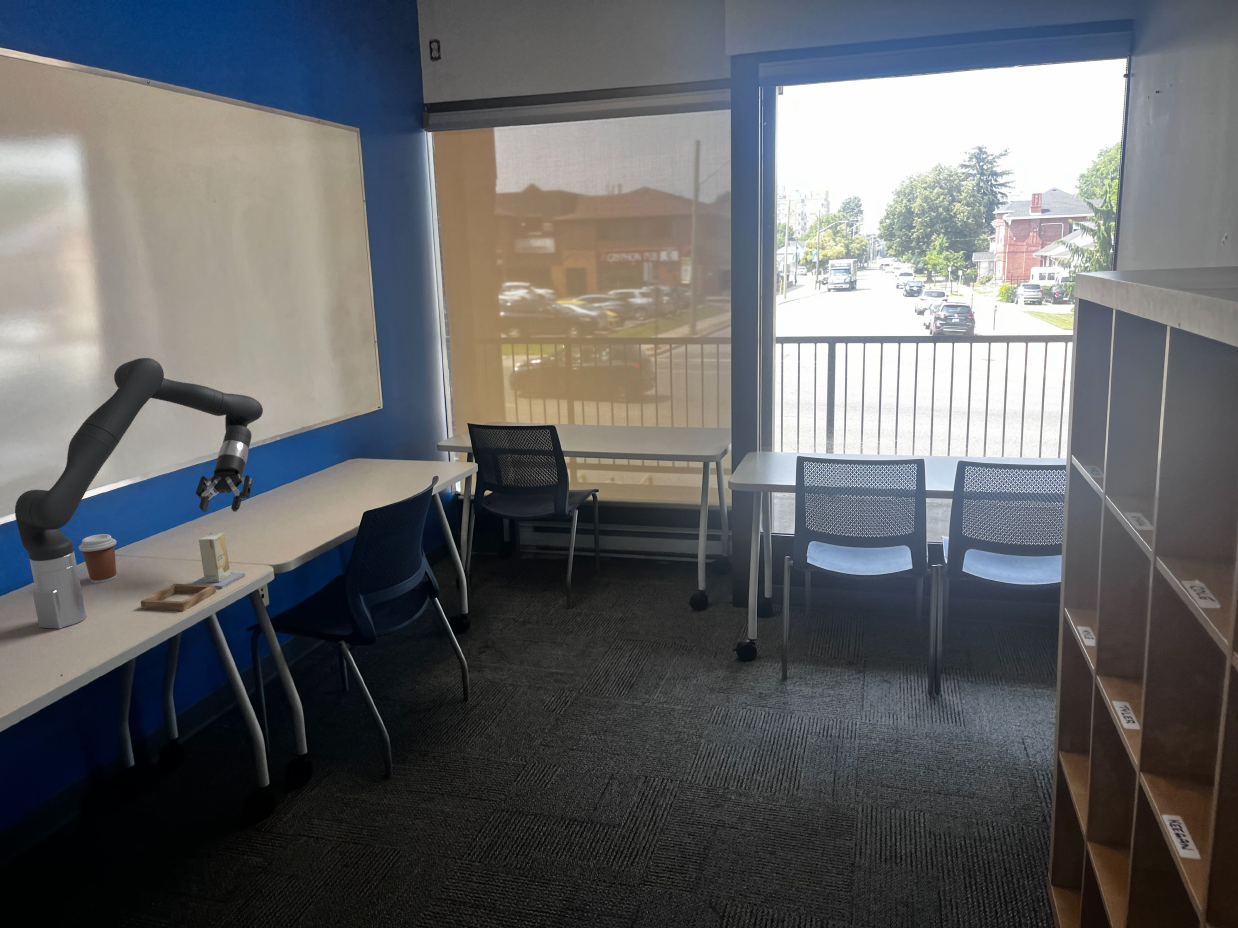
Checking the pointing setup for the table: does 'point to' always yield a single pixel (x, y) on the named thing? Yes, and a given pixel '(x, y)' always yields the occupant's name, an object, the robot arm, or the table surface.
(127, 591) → the table surface
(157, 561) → the table surface
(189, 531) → the table surface
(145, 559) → the table surface
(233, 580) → the grey rubber pad
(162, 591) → the frame
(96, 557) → the coffee cup
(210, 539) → the skincare box
